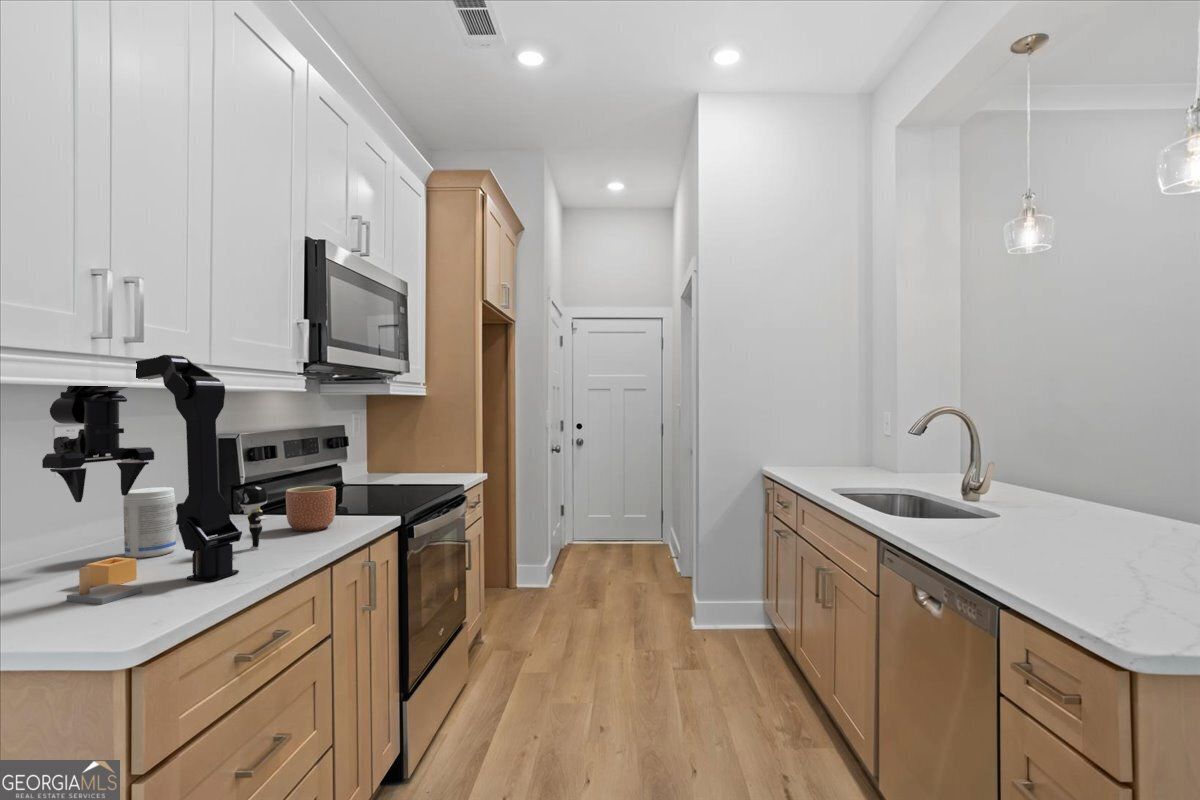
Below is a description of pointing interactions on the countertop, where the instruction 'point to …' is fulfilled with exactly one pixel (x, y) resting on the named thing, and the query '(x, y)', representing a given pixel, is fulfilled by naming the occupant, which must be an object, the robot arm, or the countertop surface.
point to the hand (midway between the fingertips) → (102, 498)
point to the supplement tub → (149, 522)
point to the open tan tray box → (113, 571)
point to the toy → (254, 510)
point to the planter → (310, 507)
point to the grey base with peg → (100, 590)
